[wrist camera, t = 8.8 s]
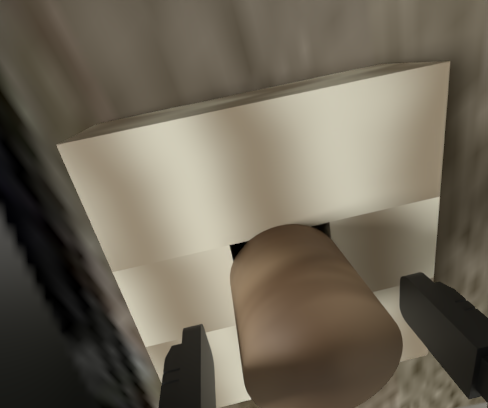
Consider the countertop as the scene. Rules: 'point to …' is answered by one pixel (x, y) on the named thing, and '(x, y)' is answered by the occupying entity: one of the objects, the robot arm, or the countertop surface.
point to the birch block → (265, 195)
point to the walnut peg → (308, 323)
